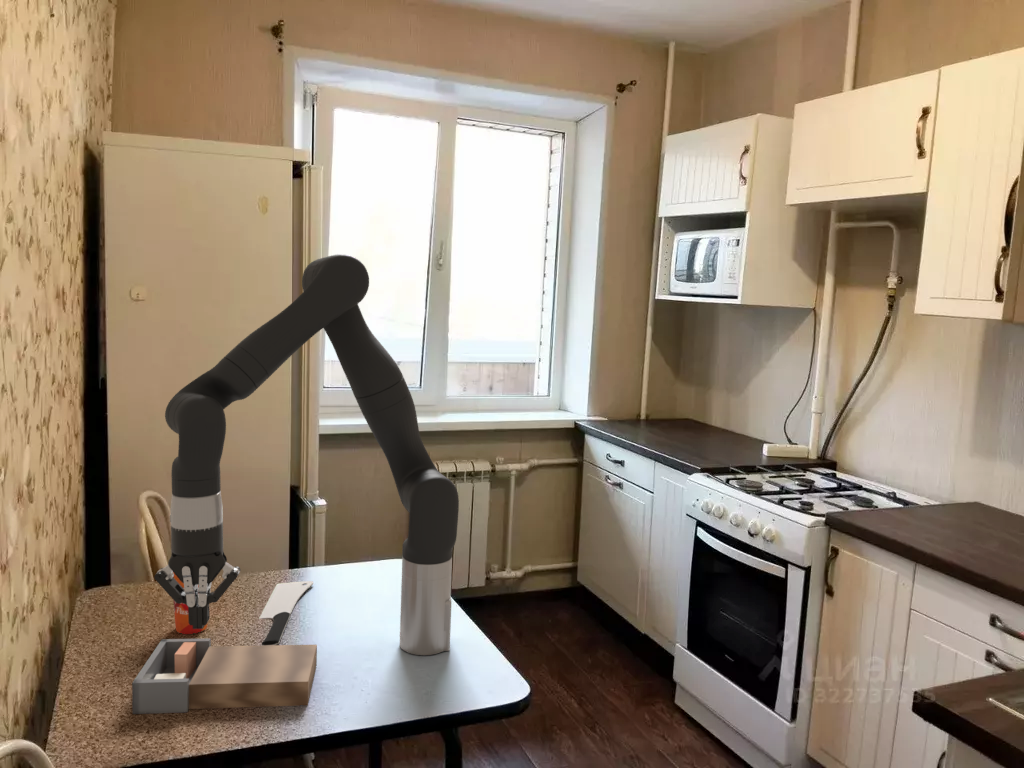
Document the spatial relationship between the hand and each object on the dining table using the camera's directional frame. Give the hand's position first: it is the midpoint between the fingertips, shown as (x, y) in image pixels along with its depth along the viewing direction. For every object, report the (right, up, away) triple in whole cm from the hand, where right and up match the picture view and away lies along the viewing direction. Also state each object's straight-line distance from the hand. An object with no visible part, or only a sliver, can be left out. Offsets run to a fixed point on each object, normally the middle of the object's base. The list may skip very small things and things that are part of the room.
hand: (199, 626), depth 124 cm
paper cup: (-12, -9, +26) cm, 30 cm away
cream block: (-6, -9, +2) cm, 11 cm away
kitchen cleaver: (+2, -9, +35) cm, 36 cm away
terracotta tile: (-4, -8, +8) cm, 12 cm away
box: (-6, -11, +4) cm, 13 cm away
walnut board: (+7, -12, +6) cm, 15 cm away
